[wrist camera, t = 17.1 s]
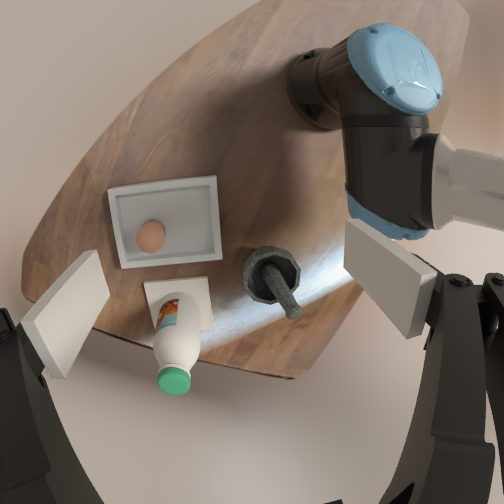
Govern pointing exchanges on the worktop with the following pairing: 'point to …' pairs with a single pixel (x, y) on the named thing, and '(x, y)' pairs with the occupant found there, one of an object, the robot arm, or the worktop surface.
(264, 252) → the mortar and pestle
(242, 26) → the worktop surface
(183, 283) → the pad
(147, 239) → the pinkish brown rounded cylinder
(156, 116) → the worktop surface
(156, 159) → the worktop surface
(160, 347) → the milk bottle
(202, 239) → the tray
